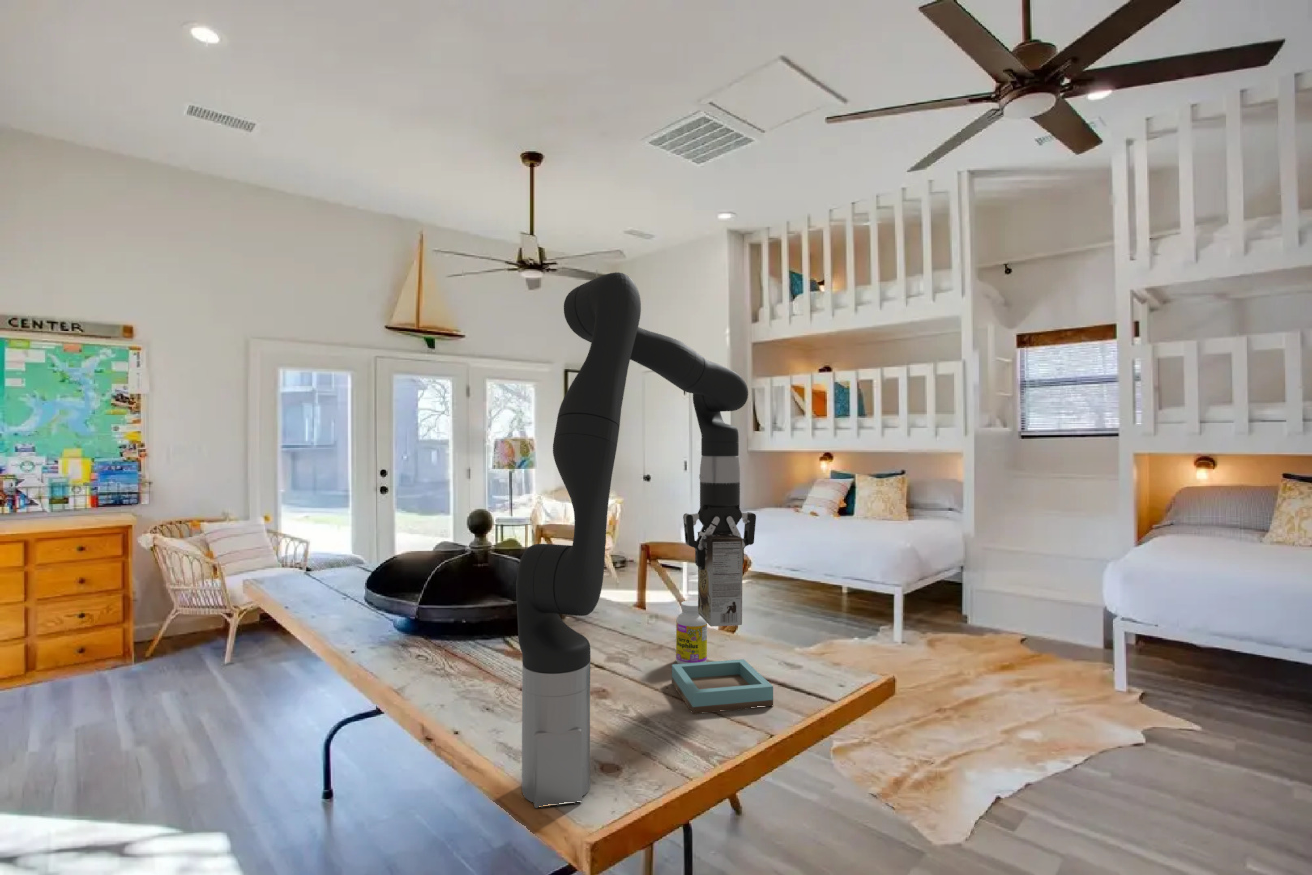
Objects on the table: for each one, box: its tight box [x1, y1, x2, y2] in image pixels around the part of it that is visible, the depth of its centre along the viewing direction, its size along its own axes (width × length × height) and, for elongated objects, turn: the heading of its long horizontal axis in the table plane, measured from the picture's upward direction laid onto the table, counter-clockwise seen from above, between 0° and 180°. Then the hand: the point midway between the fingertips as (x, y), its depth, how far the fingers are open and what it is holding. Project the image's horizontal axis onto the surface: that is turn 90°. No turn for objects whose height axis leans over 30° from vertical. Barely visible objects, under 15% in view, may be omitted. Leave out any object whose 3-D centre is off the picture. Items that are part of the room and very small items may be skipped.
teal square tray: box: [671, 658, 774, 715], centre depth 122 cm, size 15×15×4 cm
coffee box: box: [697, 531, 744, 627], centre depth 123 cm, size 9×6×16 cm
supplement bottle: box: [675, 600, 708, 664], centre depth 140 cm, size 7×7×13 cm
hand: (719, 568), depth 123 cm, fingers closed on coffee box, 6 cm apart
